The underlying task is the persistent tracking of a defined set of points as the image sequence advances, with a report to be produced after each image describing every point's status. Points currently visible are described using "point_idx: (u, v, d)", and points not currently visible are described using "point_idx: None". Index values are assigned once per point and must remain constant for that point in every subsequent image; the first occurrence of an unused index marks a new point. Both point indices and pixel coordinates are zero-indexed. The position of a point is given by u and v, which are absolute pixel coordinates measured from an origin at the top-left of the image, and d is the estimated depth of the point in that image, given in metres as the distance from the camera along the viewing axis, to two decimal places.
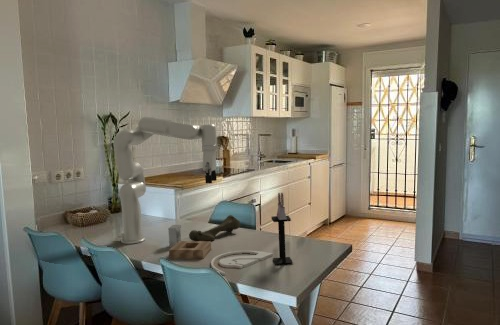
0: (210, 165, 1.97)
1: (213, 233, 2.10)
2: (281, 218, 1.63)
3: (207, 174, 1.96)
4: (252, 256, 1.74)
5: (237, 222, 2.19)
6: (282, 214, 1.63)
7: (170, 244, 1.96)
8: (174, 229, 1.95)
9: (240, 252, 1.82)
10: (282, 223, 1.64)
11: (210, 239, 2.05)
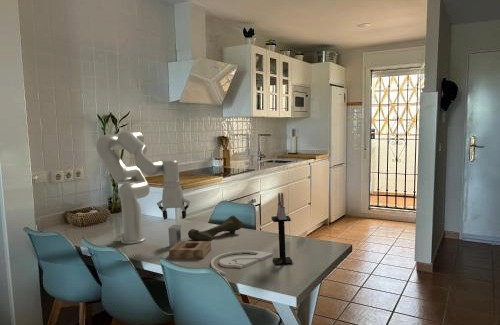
0: None
1: (212, 233, 2.11)
2: (281, 218, 1.63)
3: None
4: (252, 256, 1.74)
5: (239, 223, 2.17)
6: (282, 214, 1.63)
7: (170, 244, 1.96)
8: (174, 229, 1.95)
9: (240, 252, 1.82)
10: (282, 223, 1.64)
11: (207, 239, 2.06)
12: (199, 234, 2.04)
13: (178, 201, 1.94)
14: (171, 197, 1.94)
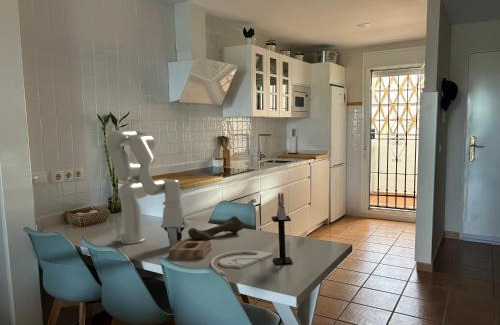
0: None
1: (212, 232, 2.11)
2: (281, 218, 1.63)
3: None
4: (252, 256, 1.74)
5: (240, 224, 2.15)
6: (282, 214, 1.63)
7: (170, 244, 1.96)
8: (174, 229, 1.95)
9: (240, 252, 1.82)
10: (282, 223, 1.64)
11: (205, 238, 2.07)
12: (197, 233, 2.06)
13: (179, 221, 1.95)
14: (172, 217, 1.95)
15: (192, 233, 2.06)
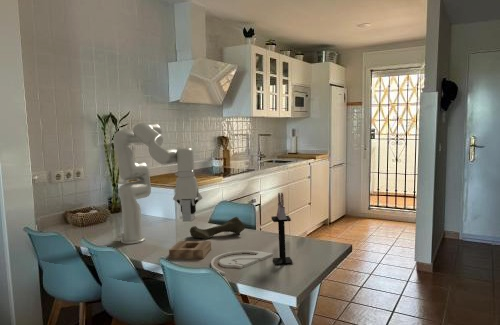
0: (198, 191, 1.84)
1: (211, 232, 2.12)
2: (281, 218, 1.63)
3: (196, 203, 1.83)
4: (252, 256, 1.74)
5: (240, 225, 2.12)
6: (282, 214, 1.63)
7: (183, 217, 1.82)
8: (188, 201, 1.80)
9: (240, 252, 1.82)
10: (282, 223, 1.64)
11: (204, 237, 2.09)
12: (195, 232, 2.09)
13: (193, 192, 1.80)
14: (185, 188, 1.80)
15: (191, 231, 2.10)
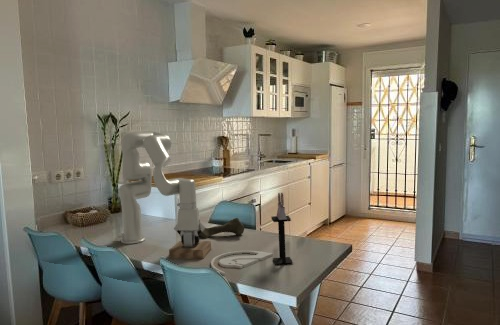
0: (200, 222, 1.85)
1: (212, 231, 2.14)
2: (281, 218, 1.63)
3: None
4: (252, 256, 1.74)
5: (239, 226, 2.09)
6: (282, 214, 1.63)
7: None
8: (189, 233, 1.82)
9: (240, 252, 1.82)
10: (282, 223, 1.64)
11: (203, 236, 2.12)
12: None
13: (194, 224, 1.81)
14: (187, 219, 1.81)
15: None
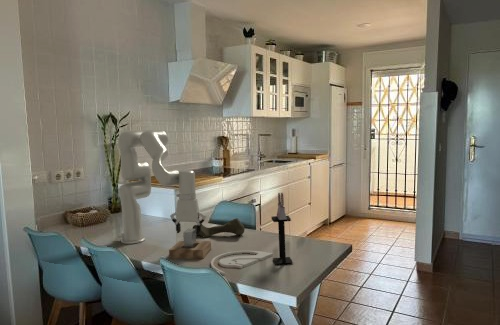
0: None
1: (212, 231, 2.14)
2: (281, 218, 1.63)
3: (201, 223, 1.84)
4: (252, 256, 1.74)
5: (238, 227, 2.07)
6: (282, 214, 1.63)
7: None
8: (189, 233, 1.82)
9: (240, 252, 1.82)
10: (282, 223, 1.64)
11: (203, 235, 2.13)
12: (196, 229, 2.15)
13: (193, 215, 1.81)
14: (186, 210, 1.81)
15: (193, 228, 2.16)
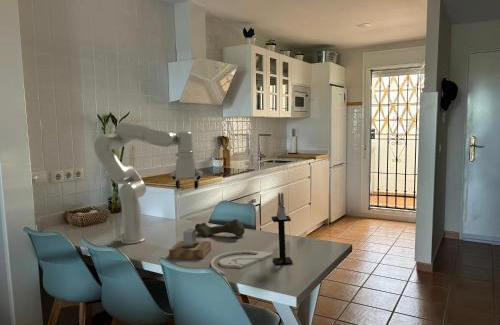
0: None
1: (213, 231, 2.15)
2: (281, 218, 1.63)
3: (198, 179, 2.03)
4: (252, 256, 1.74)
5: (236, 228, 2.06)
6: (282, 214, 1.63)
7: None
8: (189, 233, 1.82)
9: (240, 252, 1.82)
10: (282, 223, 1.64)
11: (204, 234, 2.15)
12: (198, 228, 2.17)
13: (191, 171, 2.00)
14: (184, 167, 2.01)
15: (195, 227, 2.19)
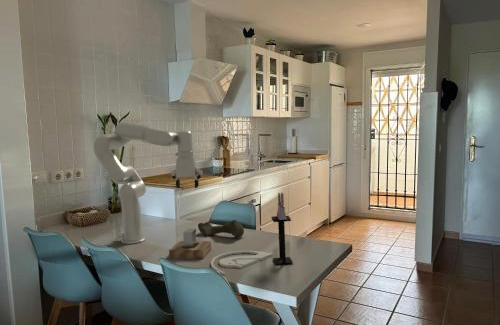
0: None
1: (214, 230, 2.16)
2: (281, 218, 1.63)
3: (198, 178, 2.04)
4: (252, 256, 1.74)
5: (233, 229, 2.04)
6: (282, 214, 1.63)
7: None
8: (189, 233, 1.82)
9: (240, 252, 1.82)
10: (282, 223, 1.64)
11: (205, 234, 2.16)
12: (200, 227, 2.19)
13: (191, 170, 2.01)
14: (184, 166, 2.01)
15: (198, 226, 2.21)
